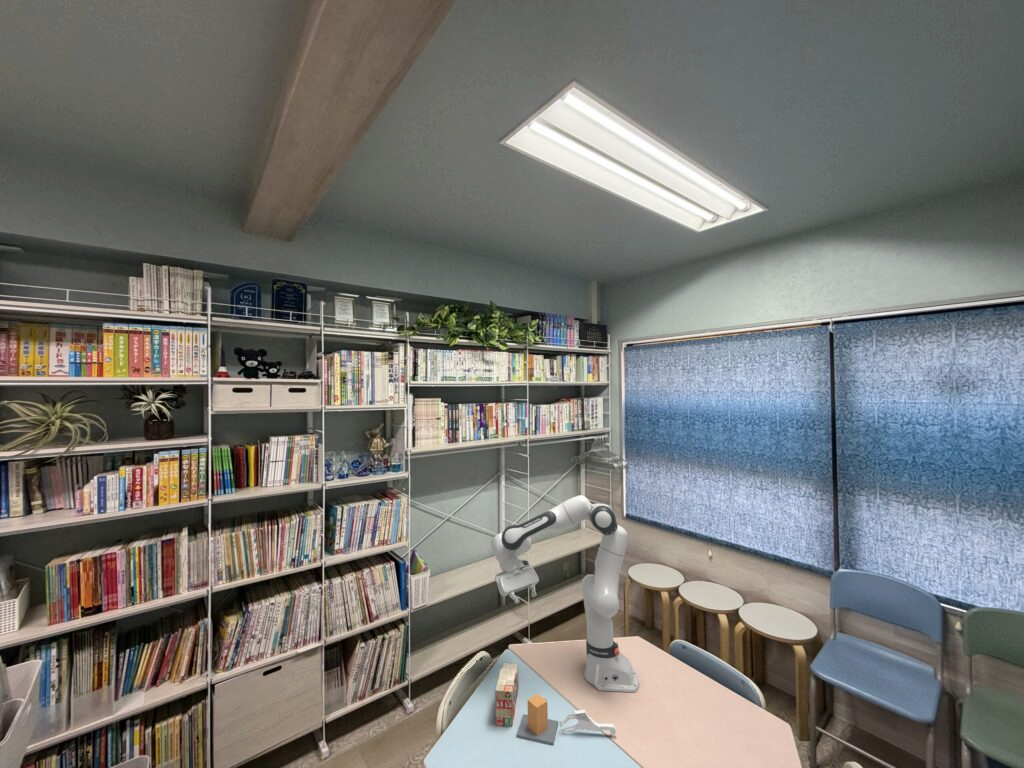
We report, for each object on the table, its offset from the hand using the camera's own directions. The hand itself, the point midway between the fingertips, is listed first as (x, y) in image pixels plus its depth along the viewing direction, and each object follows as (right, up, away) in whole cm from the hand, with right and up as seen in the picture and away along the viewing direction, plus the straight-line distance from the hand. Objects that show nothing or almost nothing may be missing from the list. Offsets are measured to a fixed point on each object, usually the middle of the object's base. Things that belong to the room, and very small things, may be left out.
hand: (526, 599), depth 168 cm
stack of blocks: (-8, -32, -16) cm, 37 cm away
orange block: (+3, -30, -28) cm, 41 cm away
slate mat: (+3, -31, -28) cm, 42 cm away
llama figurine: (+20, -31, -30) cm, 48 cm away
